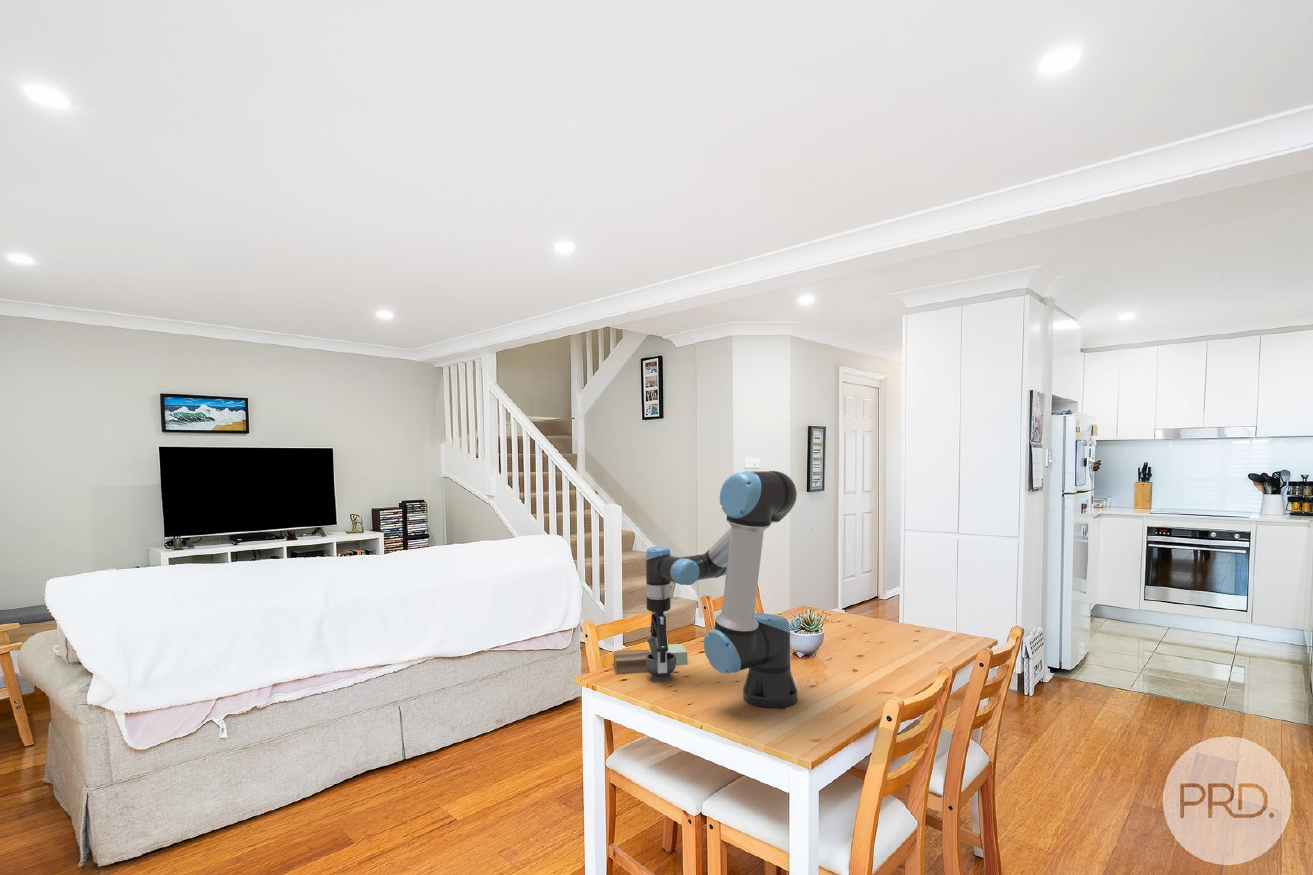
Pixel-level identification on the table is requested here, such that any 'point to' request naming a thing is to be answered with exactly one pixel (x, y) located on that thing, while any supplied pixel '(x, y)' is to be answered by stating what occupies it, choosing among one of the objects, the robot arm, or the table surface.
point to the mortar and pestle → (653, 663)
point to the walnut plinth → (630, 661)
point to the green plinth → (678, 653)
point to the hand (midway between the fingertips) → (659, 665)
